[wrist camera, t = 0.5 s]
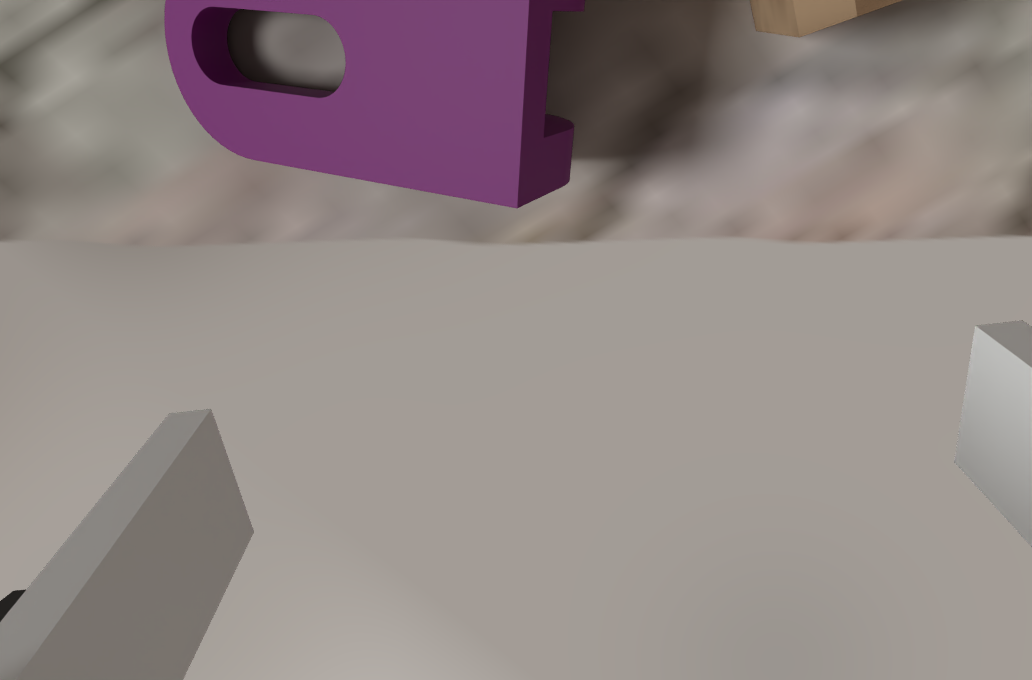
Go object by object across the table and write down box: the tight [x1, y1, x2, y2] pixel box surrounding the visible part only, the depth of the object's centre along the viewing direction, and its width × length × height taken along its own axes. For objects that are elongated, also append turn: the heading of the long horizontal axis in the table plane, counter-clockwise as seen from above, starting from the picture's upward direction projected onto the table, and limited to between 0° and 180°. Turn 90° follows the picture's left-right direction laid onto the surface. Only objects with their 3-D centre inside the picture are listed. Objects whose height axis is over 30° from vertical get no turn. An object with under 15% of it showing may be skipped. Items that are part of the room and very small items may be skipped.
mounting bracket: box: [165, 0, 585, 208], centre depth 34 cm, size 9×8×18 cm
